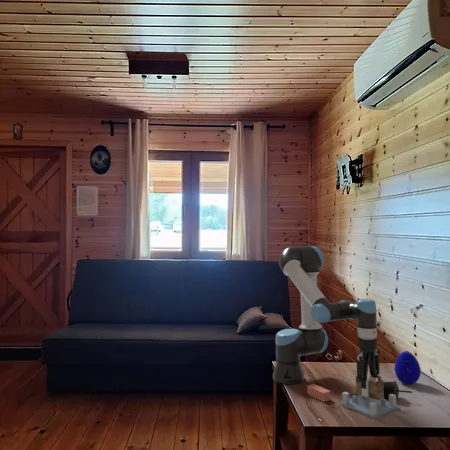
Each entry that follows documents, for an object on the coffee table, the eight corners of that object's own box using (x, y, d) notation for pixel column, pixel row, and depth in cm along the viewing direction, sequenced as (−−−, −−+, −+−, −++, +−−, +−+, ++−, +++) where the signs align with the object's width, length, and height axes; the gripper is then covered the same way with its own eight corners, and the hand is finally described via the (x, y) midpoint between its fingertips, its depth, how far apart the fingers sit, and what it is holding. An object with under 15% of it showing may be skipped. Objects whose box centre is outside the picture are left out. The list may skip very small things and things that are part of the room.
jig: (340, 404, 170) (340, 392, 170) (364, 395, 179) (364, 383, 179) (374, 418, 157) (374, 405, 157) (398, 407, 166) (397, 395, 166)
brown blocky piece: (383, 397, 165) (383, 375, 165) (378, 400, 162) (378, 378, 163) (361, 390, 173) (360, 369, 173) (356, 393, 170) (355, 372, 170)
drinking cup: (363, 400, 180) (413, 406, 170) (360, 389, 177) (410, 394, 167) (365, 386, 186) (413, 390, 176) (362, 374, 183) (410, 378, 173)
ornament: (422, 383, 192) (421, 350, 192) (417, 389, 185) (416, 355, 185) (398, 377, 199) (397, 347, 199) (392, 383, 192) (391, 351, 192)
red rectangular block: (307, 394, 181) (307, 385, 181) (314, 392, 183) (314, 383, 184) (323, 402, 173) (323, 393, 173) (330, 400, 175) (330, 391, 175)
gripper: (362, 342, 160) (363, 403, 160) (387, 335, 170) (389, 392, 170) (346, 339, 166) (347, 397, 166) (372, 332, 176) (373, 386, 176)
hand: (369, 394), depth 168 cm, fingers closed on brown blocky piece, 4 cm apart
